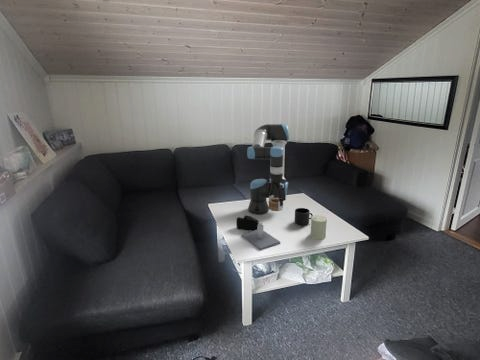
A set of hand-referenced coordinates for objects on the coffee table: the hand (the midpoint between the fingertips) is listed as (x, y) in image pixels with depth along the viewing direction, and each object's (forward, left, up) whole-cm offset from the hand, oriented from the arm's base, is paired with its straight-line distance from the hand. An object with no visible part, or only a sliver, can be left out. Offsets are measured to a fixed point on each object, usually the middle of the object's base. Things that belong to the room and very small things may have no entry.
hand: (275, 207), depth 183 cm
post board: (+5, -15, -15) cm, 22 cm away
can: (+20, +17, -15) cm, 30 cm away
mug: (+2, +22, -15) cm, 27 cm away
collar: (0, 0, 0) cm, 0 cm away
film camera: (-12, -12, -15) cm, 23 cm away
